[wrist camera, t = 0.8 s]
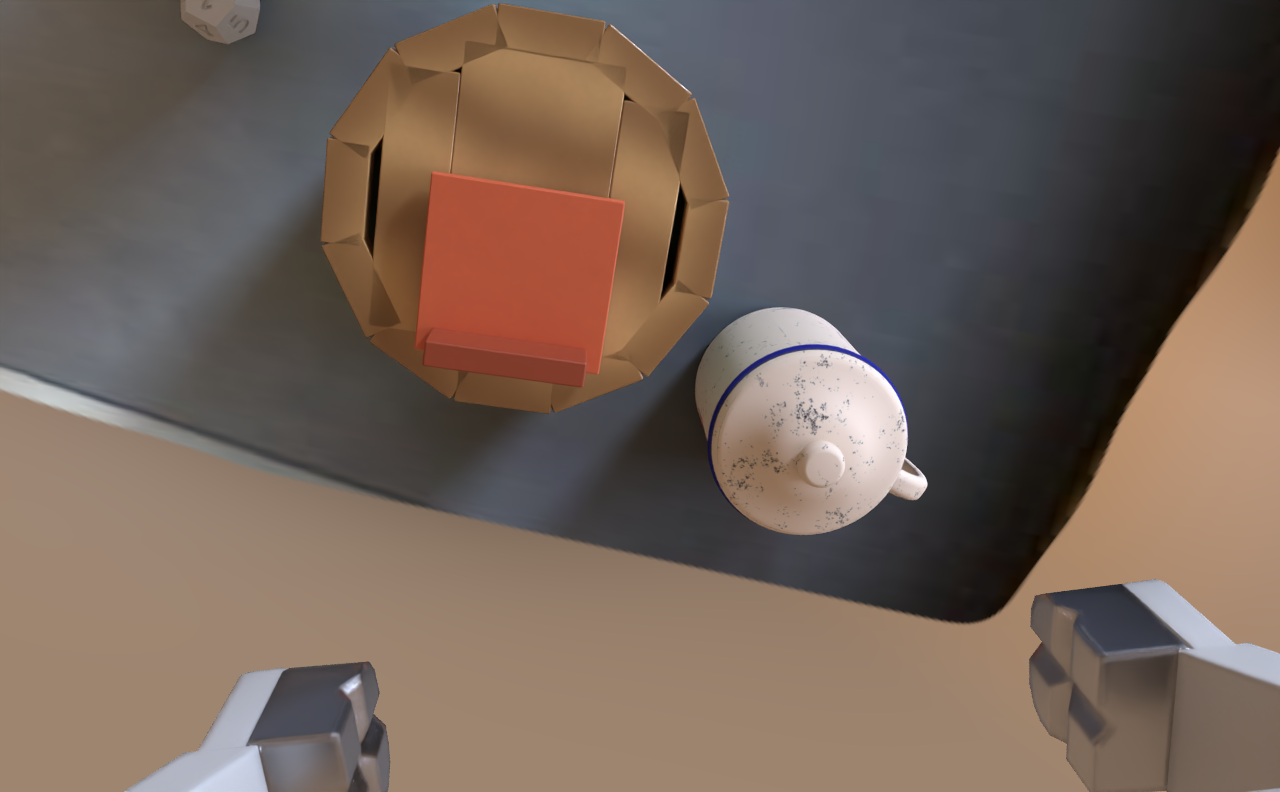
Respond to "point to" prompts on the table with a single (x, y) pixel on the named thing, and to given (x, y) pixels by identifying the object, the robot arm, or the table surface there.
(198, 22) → the game die
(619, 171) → the round tan lid
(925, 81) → the table surface
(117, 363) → the table surface
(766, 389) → the teacup with lid
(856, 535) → the table surface
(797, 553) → the table surface
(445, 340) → the slider
